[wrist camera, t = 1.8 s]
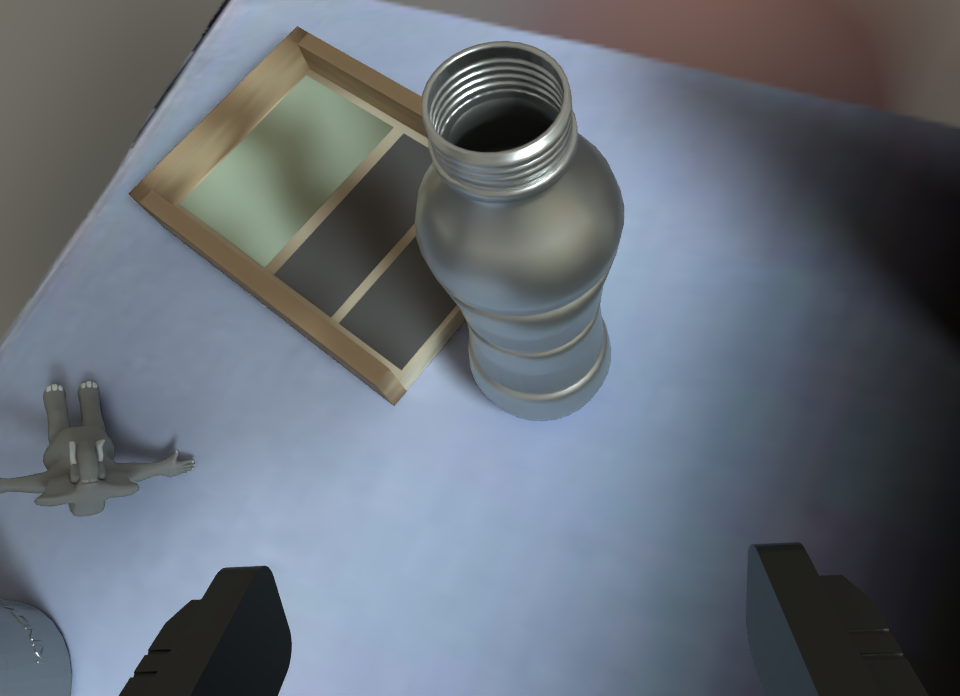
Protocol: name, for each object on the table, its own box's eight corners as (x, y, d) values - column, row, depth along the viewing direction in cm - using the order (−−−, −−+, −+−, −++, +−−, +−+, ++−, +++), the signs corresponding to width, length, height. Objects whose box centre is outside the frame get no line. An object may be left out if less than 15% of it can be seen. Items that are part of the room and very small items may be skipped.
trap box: (394, 405, 36) (375, 384, 33) (163, 226, 42) (128, 193, 39) (557, 209, 39) (554, 171, 36) (317, 68, 45) (297, 26, 42)
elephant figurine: (176, 346, 39) (211, 452, 33) (167, 428, 42) (198, 540, 36) (-47, 351, 34) (-53, 481, 28) (-40, 446, 37) (-44, 583, 30)
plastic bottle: (489, 305, 37) (391, -7, 19) (618, 320, 36) (648, 0, 17) (465, 421, 35) (329, 198, 17) (601, 442, 34) (617, 223, 15)
